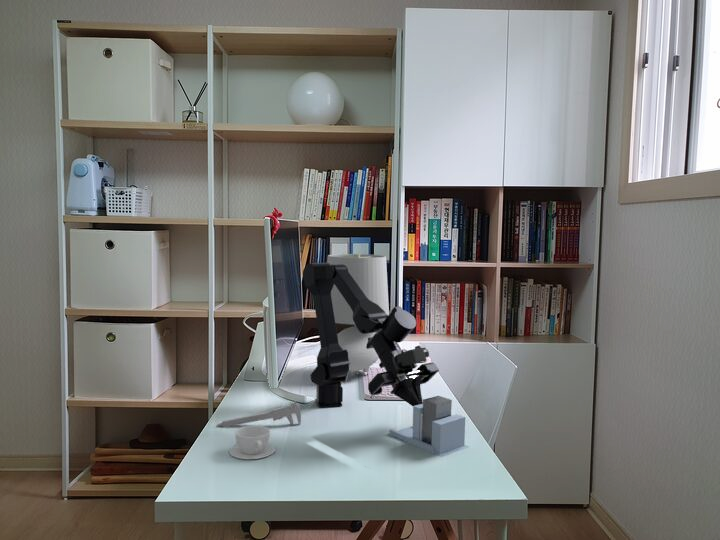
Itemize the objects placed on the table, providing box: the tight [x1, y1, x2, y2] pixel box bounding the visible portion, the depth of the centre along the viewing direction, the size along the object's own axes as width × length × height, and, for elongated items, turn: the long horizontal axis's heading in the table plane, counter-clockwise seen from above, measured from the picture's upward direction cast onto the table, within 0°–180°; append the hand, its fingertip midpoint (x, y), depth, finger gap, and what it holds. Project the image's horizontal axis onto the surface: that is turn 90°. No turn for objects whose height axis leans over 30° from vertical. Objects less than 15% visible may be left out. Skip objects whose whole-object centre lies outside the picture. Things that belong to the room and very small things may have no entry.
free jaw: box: [412, 404, 423, 441], centre depth 134 cm, size 2×6×8 cm, turn 130°
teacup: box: [228, 425, 277, 460], centre depth 128 cm, size 10×10×5 cm
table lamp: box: [326, 253, 390, 383], centre depth 190 cm, size 23×22×40 cm
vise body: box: [387, 413, 470, 457], centre depth 134 cm, size 17×9×8 cm, turn 40°
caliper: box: [216, 400, 302, 428], centre depth 145 cm, size 20×1×6 cm, turn 97°
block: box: [422, 395, 453, 445], centre depth 131 cm, size 4×5×10 cm
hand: (421, 409), depth 135 cm, fingers closed
